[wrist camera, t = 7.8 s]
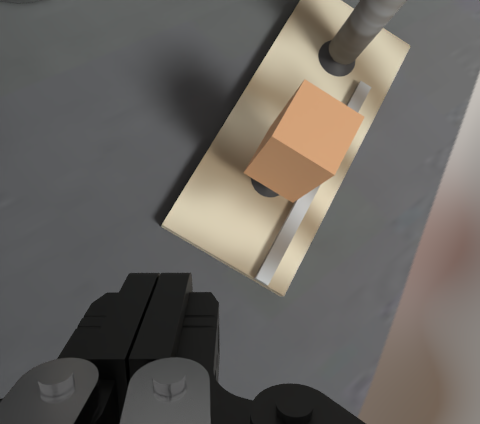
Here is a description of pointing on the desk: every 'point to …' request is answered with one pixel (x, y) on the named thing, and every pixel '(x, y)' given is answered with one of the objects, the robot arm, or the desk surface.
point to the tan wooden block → (304, 143)
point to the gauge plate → (258, 123)
